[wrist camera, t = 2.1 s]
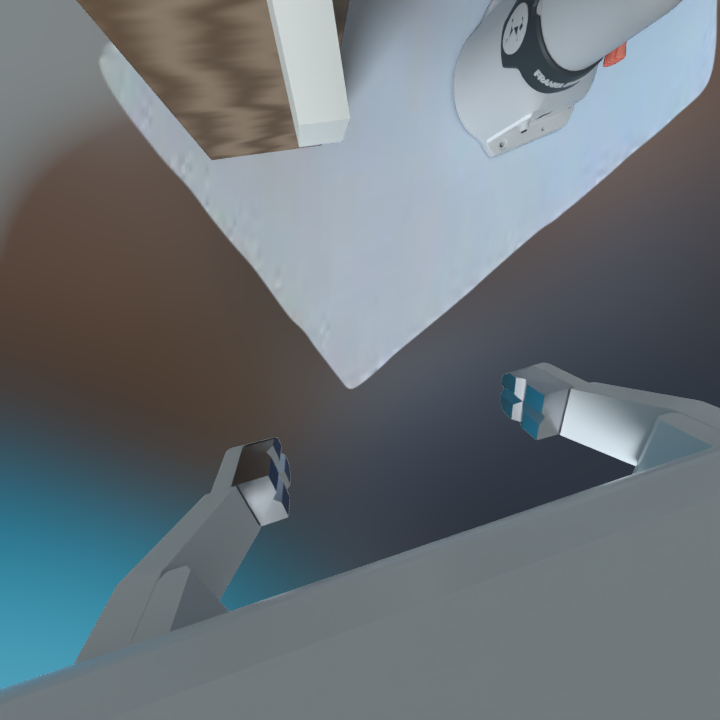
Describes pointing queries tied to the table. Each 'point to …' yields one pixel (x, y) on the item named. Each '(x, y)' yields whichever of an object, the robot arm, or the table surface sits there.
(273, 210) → the table surface
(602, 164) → the table surface
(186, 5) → the brown tall rectangular block
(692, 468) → the robot arm
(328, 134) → the bar
